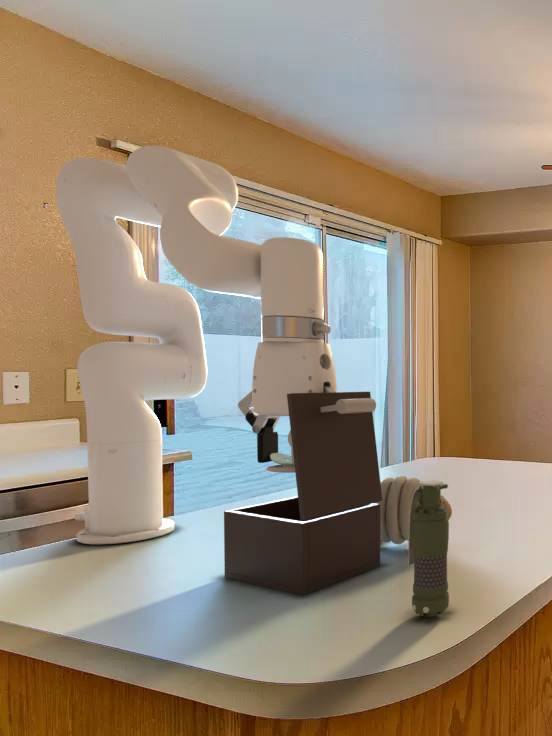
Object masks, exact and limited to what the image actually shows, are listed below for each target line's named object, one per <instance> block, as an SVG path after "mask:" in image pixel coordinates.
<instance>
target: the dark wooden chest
mask: <svg viewBox="0 0 552 736" xmlns="http://www.w3.org/2000/svg"><path fill="white" fill-rule="evenodd" d="M223 540H224V541H223V546H224V547H223V548H224V549H223V550H224V552H223V553H224V557H223V558H224V560H223V561H224V578H226V579H230V580H235V581H239V582H244V583H247V584H251V585H256V586H259V587H265V588H270V589H273V590H278V591H283V592H287V593H291V594H296V595H300V596H305V595H308V594H311V593H313V592H316V591H319V590H321V589H324V588H326V587H329V586H332V585H334V584H336V583H338V582H339V583H340V582H342V581H345V580H347V579H349V578H352V577H355V576H357V575H361V574H362V573H367V572H368V571H371V570H373V569H376V568H378V567H381V543H380V504H376V503H371V504H367V505H363V506H359V507H355V508H351V509H347V510H343V511H339V512H335V513H331V514H327V515H323V516H319V517H315V518H311V519H307V520H300V510H299V501H298V495H297V496H292V497H288V498H282V499H277V500H273V501H268V502H263V503H258V504H253V505H248V506H244V507H243V506H242V507H238V508H233V509H227V510H223Z"/></svg>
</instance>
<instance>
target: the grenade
mask: <svg viewBox="0 0 552 736" xmlns="http://www.w3.org/2000/svg"><path fill="white" fill-rule="evenodd" d="M422 481H423V482H421V481H420V482H419V483H417V484H416V486H415V489H414V493H413V496H412V500H411V505H410V513H409V541H408V566H411V565H413V585H412V593H413V594H412V596H411V609H412V610H413V612H415V614H416V615H419V616H421V617H425V618H434V617H436V616H438V615H442V614H443V613H444V612H445V611H446V610H447V609H448V608H449V605H450V594H449V592H448V590H449V581H448V550H449V539H450V522H449V520H448V518H447V512H448V510H447V509H446V508H441V507H445V506H441V499H440V497H441V495H442V492H441V491H442V490H445V489H448V488H449V484H448V483H444V482H443V481H441V480H422Z"/></svg>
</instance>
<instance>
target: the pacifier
mask: <svg viewBox="0 0 552 736" xmlns="http://www.w3.org/2000/svg"><path fill="white" fill-rule="evenodd" d="M287 443H288V444H289V446H290V455H289V454H287V453H283V452H278V453H272V454H271V455H270V459H271V460H272V461H271V462H273V463H275V464H274V465H270V466H266V471H268V472H271V473H280V474H283V473H285V474H287V473H288V474H291V473H292V474H293V473H294V474H295V465H294V456H293V446H292V437H291V429H290V430H289V432H288V434H287Z"/></svg>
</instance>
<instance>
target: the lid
mask: <svg viewBox="0 0 552 736" xmlns="http://www.w3.org/2000/svg"><path fill="white" fill-rule="evenodd" d="M287 401H288V410H289V416H288V418H289V428H290V430H291V437H292V446H293V456H294V465H295V473H294V475H295V483H296V492H297V496H298V501H299V510H300V520H307V519H311V518H315V517H319V516H323V515H327V514H331V513H335V512H339V511H343V510H347V509H351V508H355V507H359V506H363V505H367V504H371V503H375V502H379V501H382V492H381V483H380V482H381V476H380V475H381V474H380V466H379V465H380V464H379V457H378V448H377V439H376V431H375V421H374V411H376V408H377V402H376V400H375V399H374V398H373V397H372V396H371V391H337V392H329V393H290V394H287Z"/></svg>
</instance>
